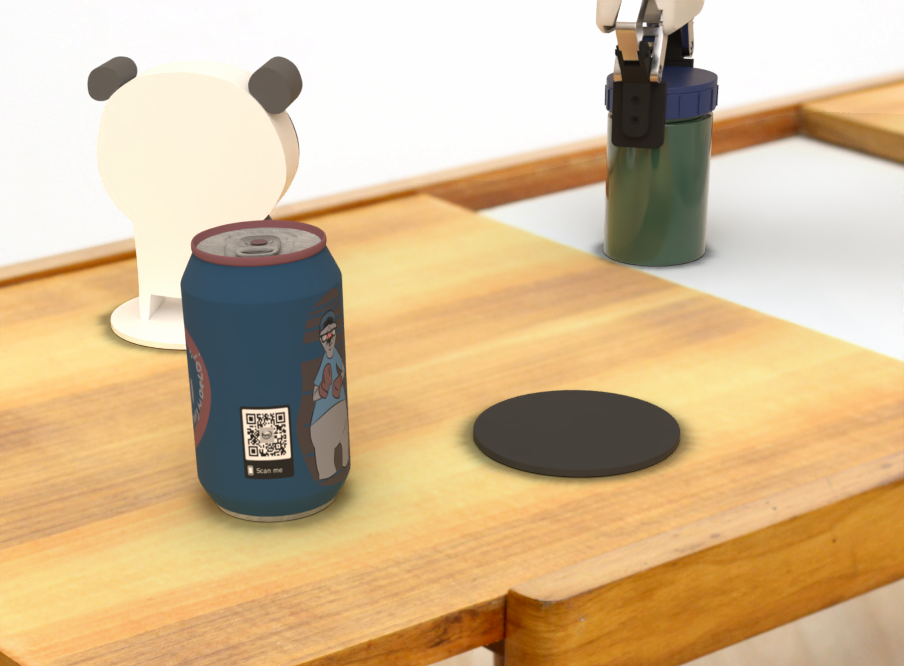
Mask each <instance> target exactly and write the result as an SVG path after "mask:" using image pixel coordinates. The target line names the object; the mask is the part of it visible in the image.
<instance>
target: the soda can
mask: <svg viewBox="0 0 904 666" xmlns="http://www.w3.org/2000/svg"><path fill="white" fill-rule="evenodd" d="M327 241H328V240H327V234H326V232H325V231H324V230H323V229H322V228H320V227H318V226H316V225H313V224H310V223H305V222H301V221H293V220H285V219H272V220H256V221H244V222H237V223H231V224H225V225H221V226H217V227H213V228H210V229H207V230H205V231H202V232H200V233H198V234H197V235H195V236H194V237H193V239H192V241H191V251H192V254H191V256H190V259H189V261H188V264H187V266H186V268H185V271H184V273H183V276H182V279H181V282H180V287H181V298H182V309H183V320H184V331H185V342H186V349H185V351H186V352H185V353H186V362H187V375H188V383H189V396H190V397H189V398H190V406H191V407H190V409H191V417H192V430H193V439H194V440H193V441H194V448H195V449H194V451H195V452H194V453H195V462H196V472H197V473H196V474H197V478H198V480H199V483H200V484H201V486H202V488H203V489H204V491H205V492H206V493H207V494H208V496H209V497H210V498H211V500H212V501H213V503H215V505H216V506H217V507H218V508H219V510H221V511H222V512H224V513H225V514H228V515H229V516H231V517H234V518H237V519H240V520H246V521H250V522H252V521H253V522H262V523H264V522H265V523H268V522H270V523H273V522H274V523H275V522H286V521H292V520H297V519H301V518H306V517H309V516H312V515H314V514H317V513H319V512H321V511H323V510H324V509H325V508H327V507H329V506H330V505H331V504H332V503H333V502H334V501H335V499H336V497H337V496H338V494H339V492H340V490H341V489H342V487H343V485H344V484H345V482H346V480H347V478H348V476H349V474H350V470H351V466H352V464H351V444H350V422H349V399H348V378H347V374H348V373H347V353H346V335H345V334H346V332H345V311H344V291H343V289H344V288H343V274H342V271H341V268H340V267H339V265H338V263H337V261H336V260H335V258H334V256H333V254H332V253H331V251H330V249H329V247H328V246H327Z"/></svg>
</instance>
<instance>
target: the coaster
mask: <svg viewBox="0 0 904 666" xmlns="http://www.w3.org/2000/svg"><path fill="white" fill-rule="evenodd" d="M472 429H473V432H472V435H473V441H474V443H475V445H476V447H477V448H478V449H479V450H480V451H481V452H482V453H483V454H485V455H486V456H488V457H489V458H490V459H492V460H495V461H496V462H498V463H499V464H503V465H505V466H507V467H510V468H513V469H517V470H521V471H525V472H528V473H533V474H540V475H545V476H555V477H567V478H569V477H571V478H593V477H606V476H614V475H621V474H626V473H631V472H635V471H639V470H642V469H645V468H649V467H651V466H653V465H656V464H658V463H660V462H662V461H663V460H665V459H667V458H668V457H669V456H671V455H672V454H673V453H674V452H675V451H676V449H677V448H678V446H679V443H680V440H681V428H680V425H679V423H678V421H677V419H676V418H675V417H674V416H673V415H672V414H670V412H668V411H667V410H665V409H664V408H662V407H660V406H658V405H656V404H654V403H651V402H649V401H647V400H645V399H644V400H643V399H640V398H638V397H634V396H630V395H626V394H620V393H615V392H608V391H602V390H588V389H587V390H586V389H557V390H546V391H539V392H537V391H536V392H532V393H526V394H522V395H517V396H513V397H509V398H507V399H504V400H501V401H499V402H497V403H495V404H493V405H491V406H489V407H487V408H486V409H485V410H483V411H482V412H480V414H479V415H478V416H477V417H476V419H475V421H474V423H473V428H472Z"/></svg>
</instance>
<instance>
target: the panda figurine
mask: <svg viewBox="0 0 904 666" xmlns="http://www.w3.org/2000/svg"><path fill="white" fill-rule="evenodd" d="M303 86H304V85H303V79H302V75H301V73H300V70H299V68H298V67H297V65H296V64H295V63H294V62H293V61H291V60H290V59H288V58H286V57H283V56H279V55H277V56H273V57H271V58H270V59H268V60H267V61H266V62H265V63H264V64H263V65H261V66H259V68H258V69H256V70H255V71H254V72H253V73H252V72H251V71H249V70H247V69H245V68H243V67H240V66H237V65H234V64H230V63H225V62H220V61H213V60H202V59H201V60H200V59H199V60H198V59H197V60H196V59H194V60H190V59H189V60H180V61H179V60H178V61H172V62H166V63H161V64H158V65H155V66H152V67H150V68H148V69H146V70H144V71H143V72H142V73H140V74H139V75H138V66H137V64H136V62H135V61H134V60H133V59H132V58H131V57H128V56H125V55H124V56H115V57H113V58H110V59H108V60H106V61H105V62H104V63H102V64H100V65H99V66H97V67H95V68H93V69H92V70H91V71H90V72H89V74H88V77H87V92H88V95H89V97H90V98H91V99H92V100H94V101H96V102H105V101H106V103H105V105H104V108H103V109H102V110H103V111H102V114H101V117H100V122H99V125H98V132H97V137H96V138H97V139H96V164H97V168H98V173H99V177H100V180H101V183H102V186H103V187H104V190H105V191H106V193H107V195H108V197H109V198H110V200H111V201H112V203H113V205H114V206H115V207H116V208H117V209H118V210H119V212H121V214H123V215H124V216H125V217H126V218H128V219H129V220H131V222H132V227H133V236H134V246H135V255H136V265H137V277H138V278H137V279H138V296H136V297H134V298H132V299H129V300H127V301H126V302H123V303H122V304H120V305H119V306H118V307H117V308H115V310H113V312H112V314H111V315H110V325H111V330H112V331H113V332H114V334H116V336H118V337H120V338H121V339H123V340H125V341H127V342H130V343H133V344H136V345H140V346H146V347H149V348H157V349H165V350H186V342H185V331H184V320H183V309H182V298H181V287H180V282H181V279H182V276H183V273H184V271H185V268H186V266H187V264H188V261H189V259H190V256H191V254H192V251H191V241H192V239H193V237H194V236H195V235H197V234H198V233H200V232H202V231H205V230H207V229H210V228H213V227H217V226H221V225H225V224H231V223H237V222H244V221H256V220H273V218H272V217H271V215H270V213H271V212H272V211H273V210H274V208H276V206H277V205H278V203H279V202H280V201H281V200H282V199H283V197H284V196H285V195H286V193H287V192H288V191H289V189H290V187H291V186H292V184H293V181H294V180H295V177H296V175H297V172H298V170H299V164H300V142H299V137H298V133H297V129H296V127H295V125H294V122H293V120H292V118H291V116H290V115H289V113H288V112H287V109H288V108H289V107H290V106H291V105H292V104H293V103H294V101H296V100H297V99H298V98H299V96H300V94H301V93H302V91H303Z"/></svg>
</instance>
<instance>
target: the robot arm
mask: <svg viewBox="0 0 904 666" xmlns="http://www.w3.org/2000/svg"><path fill="white" fill-rule="evenodd" d="M704 6H705V0H596V9H595V10H596V11H595V24H596V27H597V28H598V29H599V31H600V32H601V33H602V34H610V33H613V32H614V31H615V36H616V41H617V42H616V43H617V45H615V49H614V55H615V59H614V65H613V72H614V80H613V105H612V134H611V142H612V144H613V145H614V146H616V147H631V148H650V149H658V148H660V147H661V146H662V145H663V143H664V135H665V115H666V95H667V81H661V79H662V73H663V66H683V67H693V68H695V67H694V65H695V58H692V57H693V55H694V50H695V35H694V34H695V33H694V24H695V23H694V19H695V18H696V17H697V16H698V15H700V14H701V12H702V11H703V8H704ZM645 23H646V24H645ZM644 24H645V25H646V26H644Z"/></svg>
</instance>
